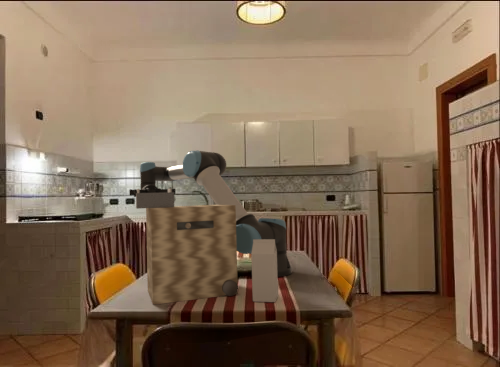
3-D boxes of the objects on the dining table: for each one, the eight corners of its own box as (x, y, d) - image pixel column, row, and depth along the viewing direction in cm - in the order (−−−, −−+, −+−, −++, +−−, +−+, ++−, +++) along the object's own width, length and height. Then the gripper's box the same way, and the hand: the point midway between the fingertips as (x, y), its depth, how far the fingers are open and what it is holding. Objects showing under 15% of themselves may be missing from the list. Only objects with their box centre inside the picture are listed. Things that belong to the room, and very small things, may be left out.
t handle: (164, 205, 151) (163, 193, 151) (174, 207, 123) (174, 192, 123) (133, 206, 147) (133, 194, 147) (136, 208, 119) (136, 193, 119)
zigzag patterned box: (222, 282, 142) (220, 204, 143) (239, 295, 123) (237, 205, 124) (147, 291, 132) (146, 207, 133) (153, 306, 113) (151, 208, 114)
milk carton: (275, 302, 113) (273, 240, 114) (252, 302, 115) (250, 240, 115) (278, 296, 120) (276, 238, 121) (256, 295, 122) (255, 238, 122)
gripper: (175, 199, 184) (183, 199, 164) (123, 201, 175) (124, 201, 156) (175, 184, 184) (183, 182, 165) (122, 185, 176) (124, 183, 156)
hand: (154, 191), depth 160 cm, fingers open, 13 cm apart
